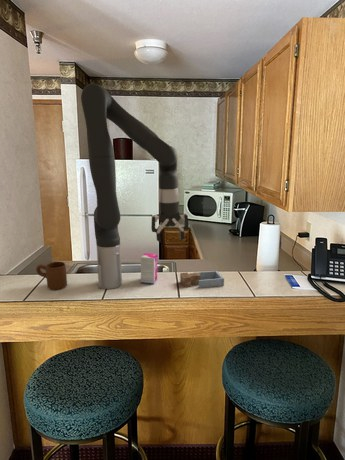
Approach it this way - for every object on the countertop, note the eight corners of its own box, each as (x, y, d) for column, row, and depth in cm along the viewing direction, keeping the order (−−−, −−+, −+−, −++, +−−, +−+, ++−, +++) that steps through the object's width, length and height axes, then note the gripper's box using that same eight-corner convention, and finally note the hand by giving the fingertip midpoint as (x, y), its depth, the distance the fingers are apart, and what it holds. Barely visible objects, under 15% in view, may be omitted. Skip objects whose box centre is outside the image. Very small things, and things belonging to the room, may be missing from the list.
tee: (183, 287, 132) (183, 278, 131) (180, 282, 138) (180, 273, 136) (201, 285, 134) (201, 276, 133) (197, 280, 139) (197, 271, 138)
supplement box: (154, 284, 135) (154, 258, 132) (140, 283, 136) (139, 257, 133) (157, 279, 140) (157, 253, 137) (144, 278, 141) (143, 252, 139)
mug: (33, 289, 130) (30, 267, 128) (42, 281, 138) (40, 260, 135) (62, 291, 129) (60, 268, 127) (70, 283, 136) (68, 261, 134)
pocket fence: (199, 287, 132) (199, 280, 131) (193, 279, 140) (193, 272, 140) (223, 285, 134) (224, 278, 133) (216, 277, 142) (216, 270, 142)
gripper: (151, 203, 120) (153, 245, 125) (189, 200, 122) (190, 242, 127) (149, 199, 128) (151, 239, 132) (185, 197, 130) (186, 237, 134)
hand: (170, 241), depth 129 cm, fingers open, 8 cm apart
